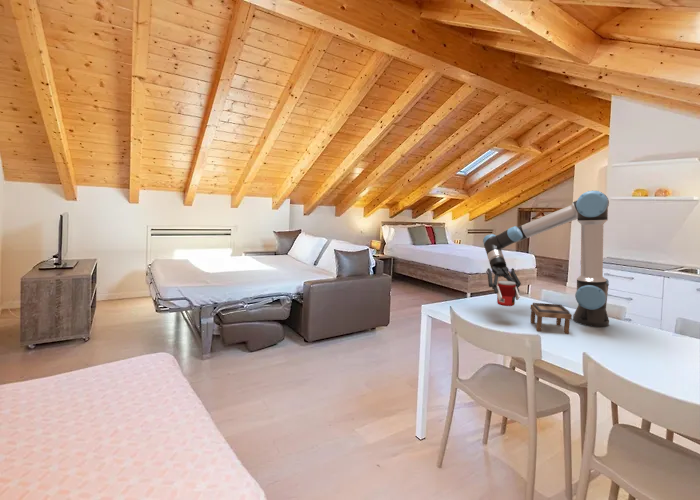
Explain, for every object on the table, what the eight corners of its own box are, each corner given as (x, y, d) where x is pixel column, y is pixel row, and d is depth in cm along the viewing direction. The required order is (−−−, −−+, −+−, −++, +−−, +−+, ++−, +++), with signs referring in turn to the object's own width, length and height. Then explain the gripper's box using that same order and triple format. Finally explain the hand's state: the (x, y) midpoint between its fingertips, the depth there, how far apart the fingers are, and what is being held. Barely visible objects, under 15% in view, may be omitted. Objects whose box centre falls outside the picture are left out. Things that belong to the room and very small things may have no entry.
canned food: (516, 306, 179) (517, 284, 178) (498, 305, 181) (499, 283, 179) (512, 302, 186) (513, 281, 185) (495, 301, 188) (496, 280, 187)
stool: (560, 324, 183) (562, 304, 182) (569, 334, 170) (571, 312, 169) (529, 322, 187) (530, 302, 185) (536, 331, 173) (538, 309, 172)
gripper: (513, 264, 197) (527, 302, 183) (474, 264, 196) (485, 302, 182) (519, 256, 191) (533, 294, 177) (479, 256, 191) (490, 294, 176)
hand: (509, 298), depth 180 cm, fingers closed on canned food, 8 cm apart
